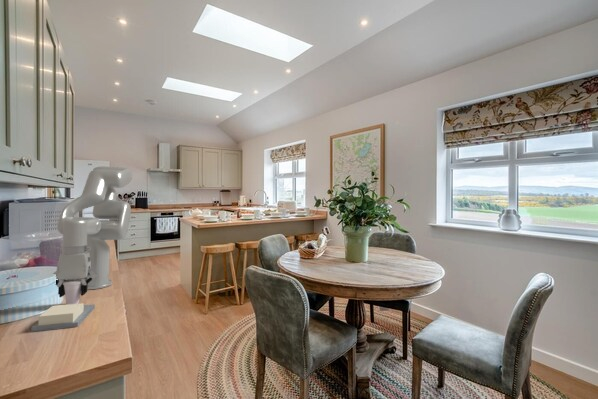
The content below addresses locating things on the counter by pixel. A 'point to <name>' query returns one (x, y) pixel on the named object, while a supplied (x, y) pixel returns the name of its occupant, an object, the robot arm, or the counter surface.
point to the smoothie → (72, 291)
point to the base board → (65, 325)
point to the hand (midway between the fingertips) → (72, 294)
